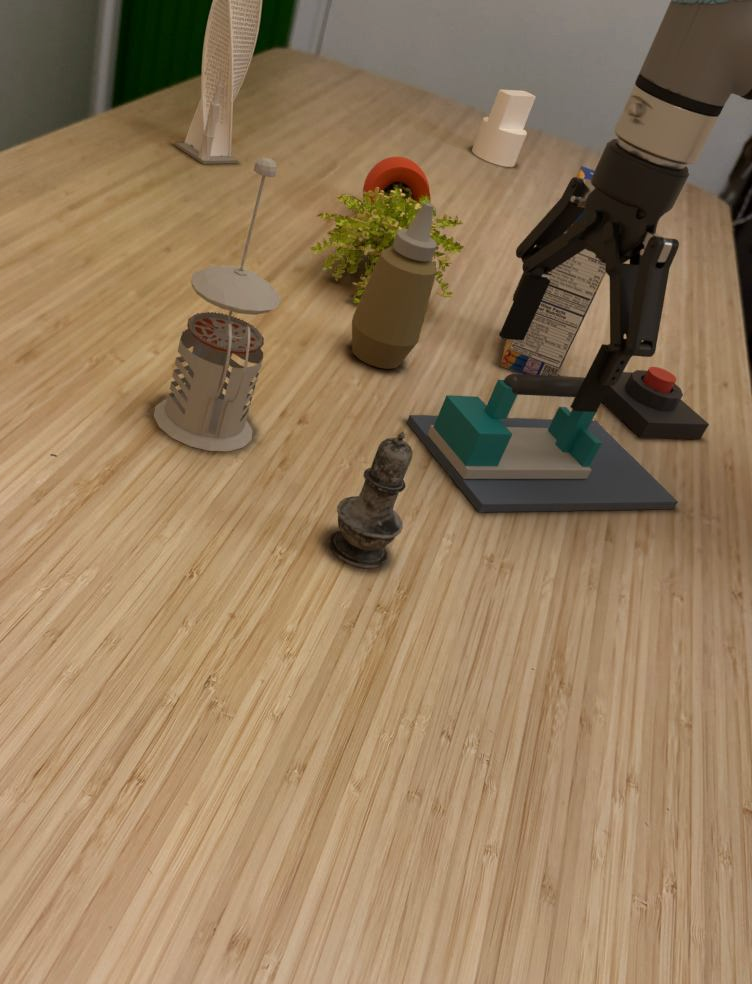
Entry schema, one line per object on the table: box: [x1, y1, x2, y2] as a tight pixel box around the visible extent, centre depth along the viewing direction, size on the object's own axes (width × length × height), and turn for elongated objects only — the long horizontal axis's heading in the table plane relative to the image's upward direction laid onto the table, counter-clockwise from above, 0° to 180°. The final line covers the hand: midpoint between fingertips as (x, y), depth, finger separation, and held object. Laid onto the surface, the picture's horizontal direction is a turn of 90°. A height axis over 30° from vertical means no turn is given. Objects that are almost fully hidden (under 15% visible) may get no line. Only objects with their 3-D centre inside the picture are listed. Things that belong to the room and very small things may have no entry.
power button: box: [642, 366, 678, 393], centre depth 127 cm, size 4×4×2 cm
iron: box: [427, 373, 602, 479], centre depth 106 cm, size 16×8×10 cm, turn 112°
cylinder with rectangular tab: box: [471, 89, 537, 168], centre depth 202 cm, size 9×9×12 cm
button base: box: [602, 369, 710, 440], centre depth 129 cm, size 12×10×4 cm
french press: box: [153, 156, 281, 452], centre depth 92 cm, size 10×12×25 cm
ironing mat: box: [406, 414, 679, 513], centre depth 112 cm, size 16×26×1 cm, turn 112°
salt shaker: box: [328, 431, 414, 569], centre depth 87 cm, size 6×6×12 cm
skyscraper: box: [174, 0, 263, 165], centre depth 153 cm, size 8×8×28 cm
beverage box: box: [500, 165, 607, 376], centre depth 126 cm, size 7×11×22 cm, turn 164°
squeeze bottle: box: [351, 202, 437, 370], centre depth 116 cm, size 8×8×18 cm
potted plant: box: [309, 156, 465, 304], centre depth 143 cm, size 19×14×45 cm
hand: (545, 372), depth 103 cm, fingers open, 13 cm apart
